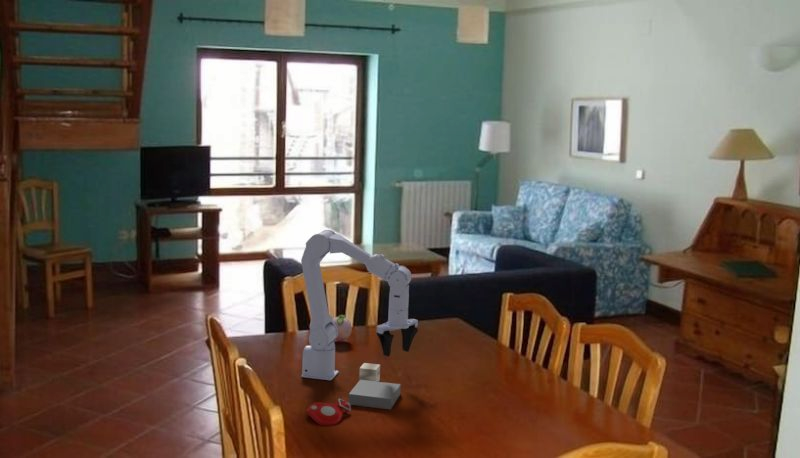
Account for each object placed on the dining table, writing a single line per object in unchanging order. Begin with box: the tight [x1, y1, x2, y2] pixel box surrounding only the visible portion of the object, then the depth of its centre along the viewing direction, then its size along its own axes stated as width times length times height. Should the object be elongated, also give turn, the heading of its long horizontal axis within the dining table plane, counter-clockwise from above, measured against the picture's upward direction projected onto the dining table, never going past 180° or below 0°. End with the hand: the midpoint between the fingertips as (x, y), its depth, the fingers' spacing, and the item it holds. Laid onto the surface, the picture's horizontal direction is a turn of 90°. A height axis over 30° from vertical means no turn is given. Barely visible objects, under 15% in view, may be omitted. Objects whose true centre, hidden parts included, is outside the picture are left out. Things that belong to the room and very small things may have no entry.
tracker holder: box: [305, 398, 352, 426], centre depth 212 cm, size 12×4×10 cm
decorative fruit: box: [332, 314, 353, 343], centre depth 276 cm, size 9×8×10 cm
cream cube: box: [358, 362, 381, 382], centre depth 238 cm, size 5×5×5 cm
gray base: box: [347, 380, 402, 410], centre depth 225 cm, size 12×12×3 cm
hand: (396, 353), depth 236 cm, fingers open, 7 cm apart
